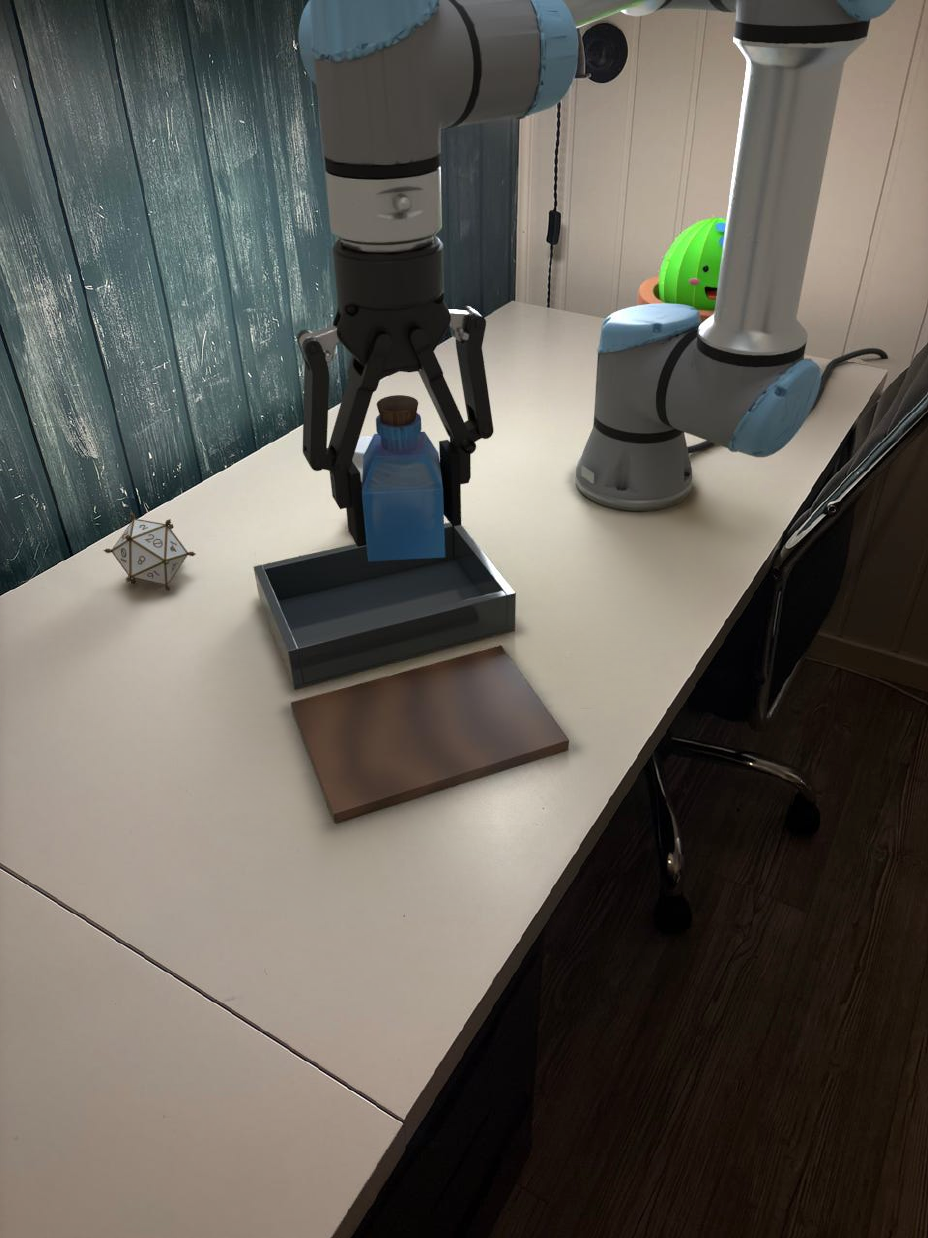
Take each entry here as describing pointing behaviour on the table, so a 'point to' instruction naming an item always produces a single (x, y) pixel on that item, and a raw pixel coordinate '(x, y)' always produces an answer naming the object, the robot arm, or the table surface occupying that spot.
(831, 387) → the table surface
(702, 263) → the potted cactus
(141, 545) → the game die
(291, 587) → the tray
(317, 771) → the board
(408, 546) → the perfume bottle
